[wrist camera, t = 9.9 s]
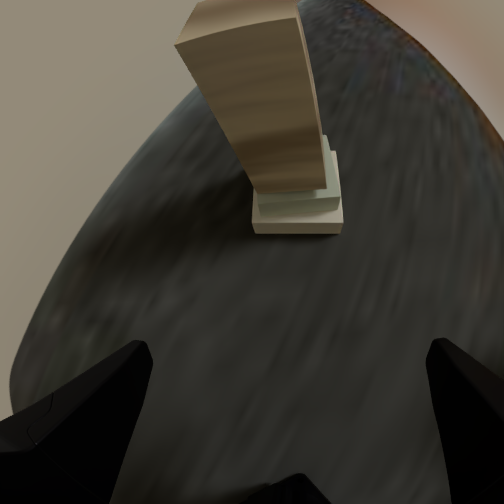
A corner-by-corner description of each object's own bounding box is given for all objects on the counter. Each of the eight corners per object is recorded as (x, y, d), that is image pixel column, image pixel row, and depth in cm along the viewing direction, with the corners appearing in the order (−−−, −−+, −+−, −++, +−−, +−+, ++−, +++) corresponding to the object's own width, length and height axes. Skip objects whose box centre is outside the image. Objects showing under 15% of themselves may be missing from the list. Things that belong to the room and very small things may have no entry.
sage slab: (337, 209, 22) (340, 196, 20) (260, 216, 23) (257, 203, 21) (324, 150, 24) (326, 135, 23) (256, 156, 25) (253, 141, 23)
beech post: (326, 189, 20) (296, 17, 8) (257, 194, 21) (174, 45, 10) (322, 135, 22) (290, -18, 10) (260, 141, 23) (197, 2, 11)
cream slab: (339, 235, 24) (343, 222, 22) (255, 235, 25) (251, 222, 23) (333, 167, 27) (335, 151, 24) (259, 168, 28) (255, 152, 25)
